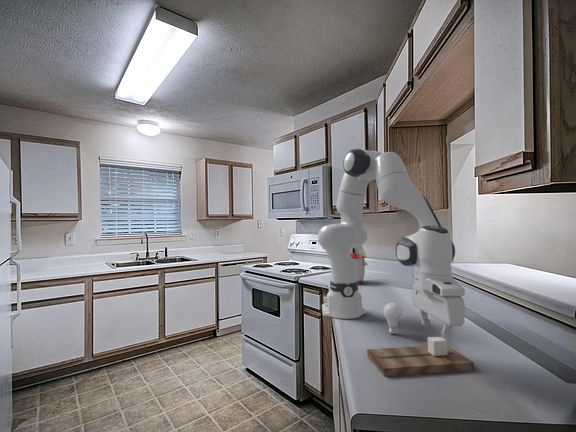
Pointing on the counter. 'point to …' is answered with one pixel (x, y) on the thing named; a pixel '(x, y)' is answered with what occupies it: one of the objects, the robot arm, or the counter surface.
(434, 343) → the fader tab
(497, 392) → the counter surface
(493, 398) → the counter surface
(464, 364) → the fader board
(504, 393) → the counter surface
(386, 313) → the lightbulb
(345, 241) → the robot arm
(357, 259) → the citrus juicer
